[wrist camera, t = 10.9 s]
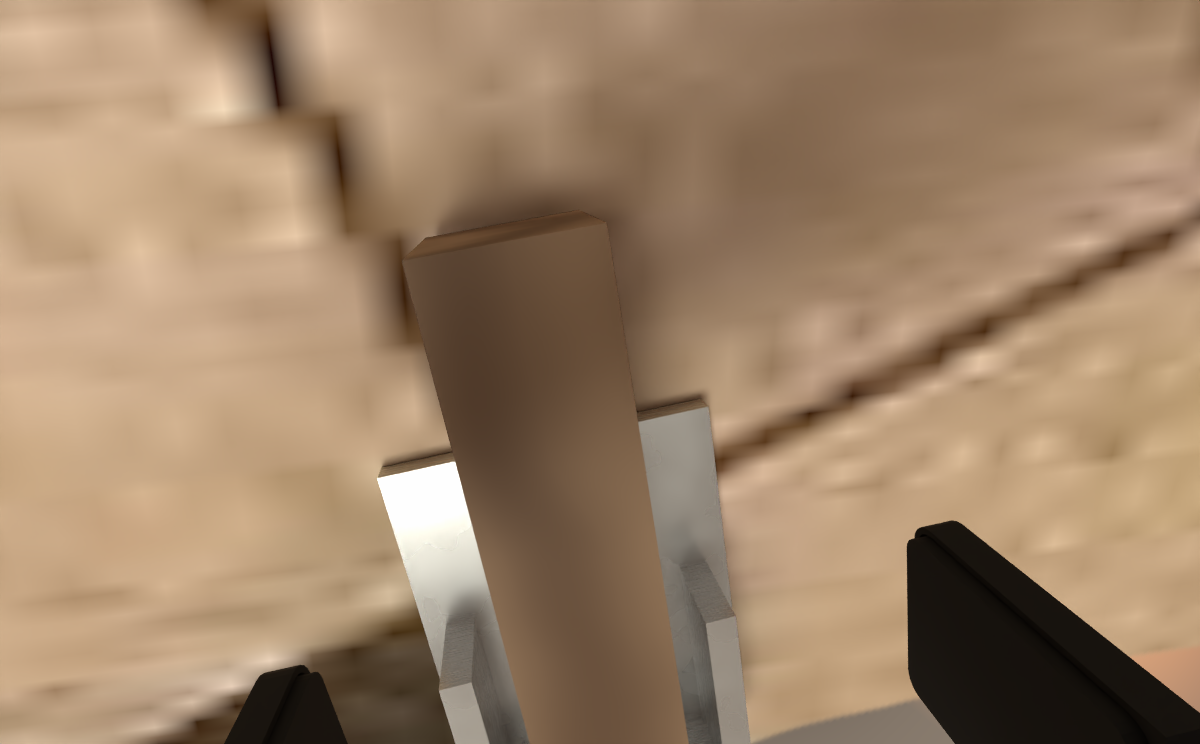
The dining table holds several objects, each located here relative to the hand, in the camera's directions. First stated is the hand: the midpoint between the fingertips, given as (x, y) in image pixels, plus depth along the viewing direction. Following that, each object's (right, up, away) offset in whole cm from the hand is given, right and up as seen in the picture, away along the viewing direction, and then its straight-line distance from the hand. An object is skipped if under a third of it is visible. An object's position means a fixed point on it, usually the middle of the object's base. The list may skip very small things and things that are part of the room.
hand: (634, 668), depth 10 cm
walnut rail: (-2, +1, +11) cm, 12 cm away
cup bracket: (-1, -4, +14) cm, 14 cm away
